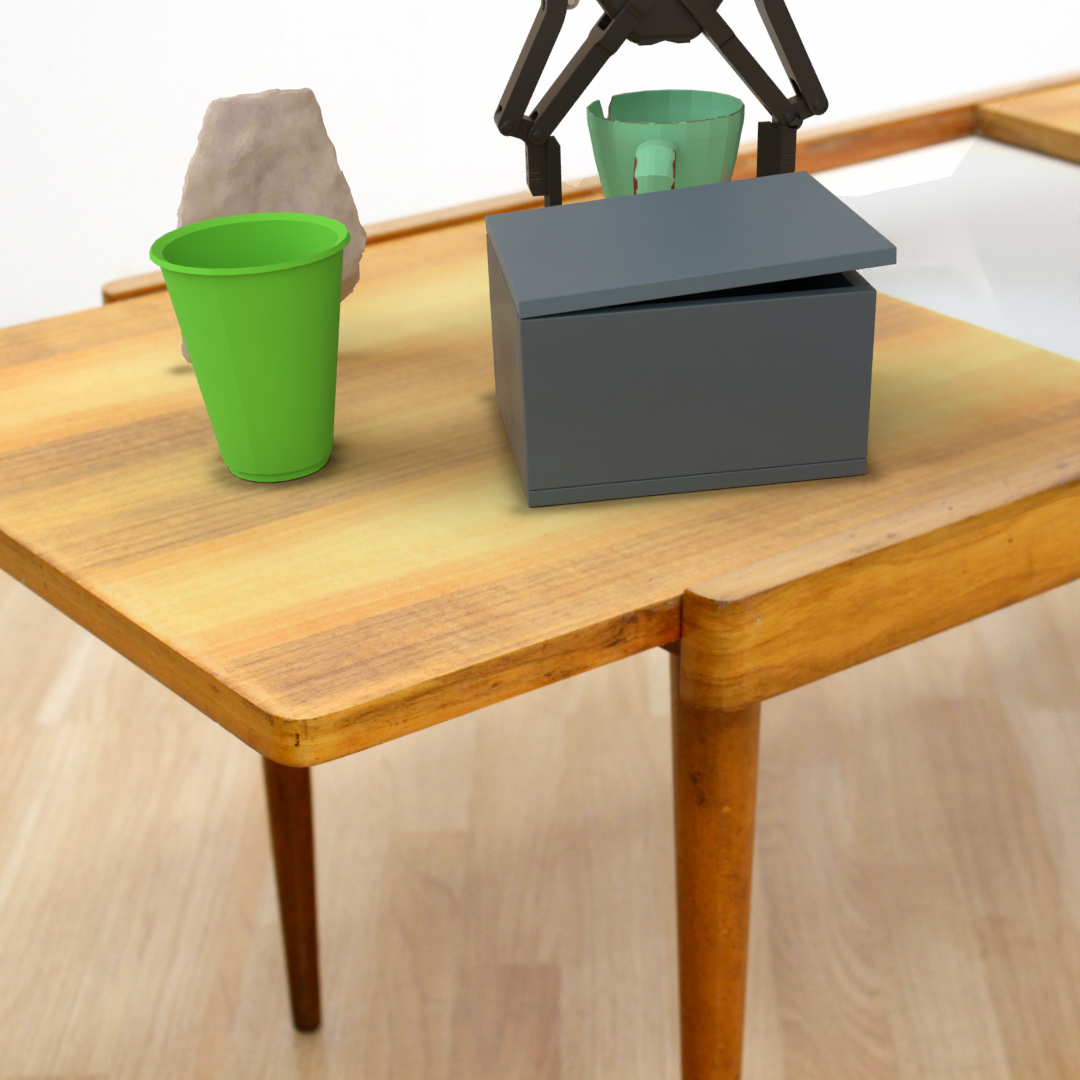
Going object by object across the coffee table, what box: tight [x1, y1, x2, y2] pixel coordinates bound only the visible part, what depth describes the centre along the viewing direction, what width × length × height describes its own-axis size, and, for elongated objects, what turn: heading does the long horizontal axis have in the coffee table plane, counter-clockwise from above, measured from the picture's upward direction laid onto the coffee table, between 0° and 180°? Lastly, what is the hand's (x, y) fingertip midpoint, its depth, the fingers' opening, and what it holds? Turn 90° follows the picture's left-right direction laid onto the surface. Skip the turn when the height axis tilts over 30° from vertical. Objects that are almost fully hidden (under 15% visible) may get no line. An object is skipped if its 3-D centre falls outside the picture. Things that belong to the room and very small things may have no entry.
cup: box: [148, 212, 351, 483], centre depth 73 cm, size 9×9×11 cm
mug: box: [585, 88, 746, 199], centre depth 96 cm, size 15×10×10 cm
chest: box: [485, 232, 878, 508], centre depth 74 cm, size 16×14×9 cm
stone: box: [176, 87, 368, 364], centre depth 84 cm, size 11×3×15 cm, turn 88°
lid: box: [484, 170, 898, 319], centre depth 72 cm, size 16×14×1 cm
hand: (661, 238), depth 98 cm, fingers open, 13 cm apart
